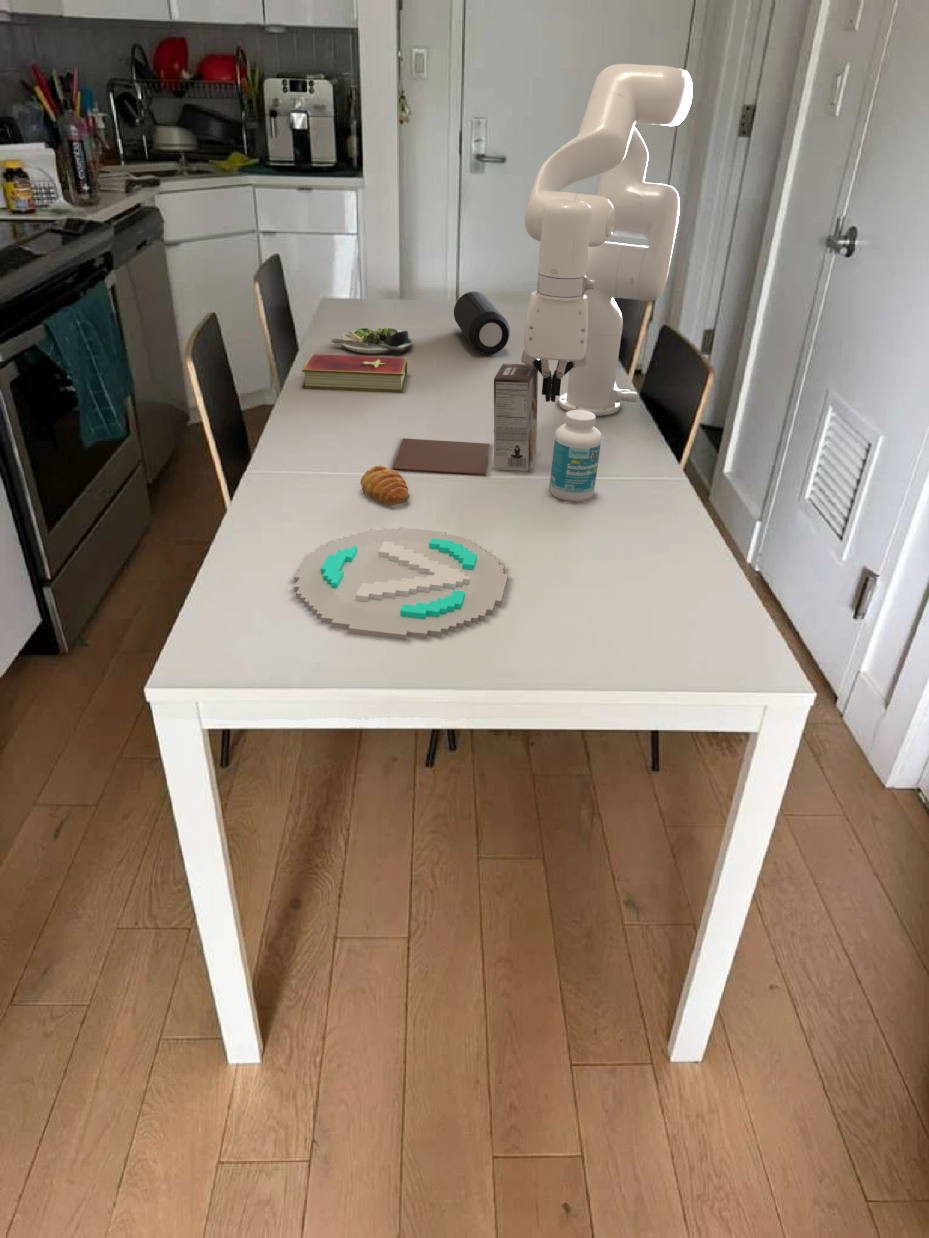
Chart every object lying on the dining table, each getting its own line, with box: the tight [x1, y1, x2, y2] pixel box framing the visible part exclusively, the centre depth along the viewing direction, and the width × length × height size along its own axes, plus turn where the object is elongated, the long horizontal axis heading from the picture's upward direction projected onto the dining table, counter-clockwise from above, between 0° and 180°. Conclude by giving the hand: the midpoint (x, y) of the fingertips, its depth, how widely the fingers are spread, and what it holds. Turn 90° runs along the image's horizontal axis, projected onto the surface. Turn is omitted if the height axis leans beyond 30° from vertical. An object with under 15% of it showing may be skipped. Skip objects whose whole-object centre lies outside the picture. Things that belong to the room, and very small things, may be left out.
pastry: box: [360, 465, 410, 507], centre depth 141 cm, size 9×7×4 cm
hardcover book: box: [301, 353, 408, 393], centre depth 190 cm, size 12×21×4 cm, turn 89°
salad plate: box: [330, 327, 413, 355], centre depth 212 cm, size 19×18×5 cm
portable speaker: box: [453, 291, 511, 356], centre depth 217 cm, size 26×10×10 cm, turn 11°
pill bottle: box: [549, 410, 602, 502], centre depth 142 cm, size 8×7×14 cm
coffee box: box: [493, 363, 539, 472], centre depth 152 cm, size 9×6×16 cm
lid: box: [293, 526, 509, 641], centre depth 119 cm, size 28×28×2 cm
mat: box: [391, 437, 490, 477], centre depth 157 cm, size 16×14×1 cm
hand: (550, 399), depth 150 cm, fingers closed
